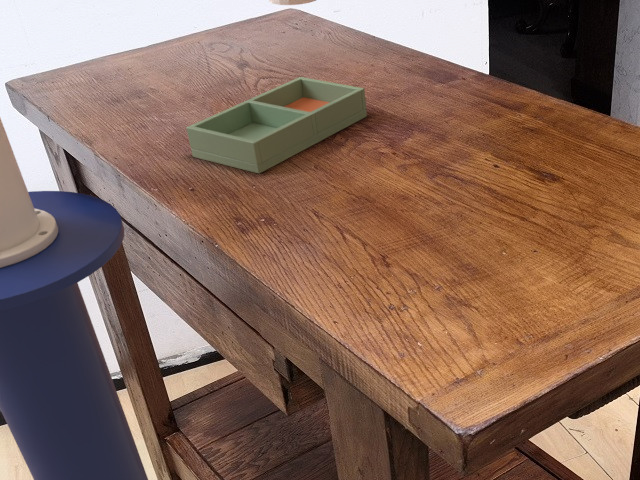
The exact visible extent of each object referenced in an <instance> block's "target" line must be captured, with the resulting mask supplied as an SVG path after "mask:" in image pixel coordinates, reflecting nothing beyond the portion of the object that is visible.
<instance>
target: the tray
mask: <svg viewBox="0 0 640 480" xmlns="http://www.w3.org/2000/svg"><path fill="white" fill-rule="evenodd" d="M367 116H368V112H367V101H366V90H365V88H364V87H358V86H354V85H348V84H342V83H337V82H332V81H325V80H320V79H314V78H309V77H303V76H299V77H296V78H294V79H292V80H290V81H288V82H285V83H283V84H280V85H278V86H277V87H274V88H272V89H270V90H267V91H265V92H263V93H261V94H257V95H256V96H253V97H251V98H249V99H246V100H244V101H242V102H240V103H238V104H236V105H234V106H231V107H229V108H227V109H224V110H222V111H220V112H218V113H215V114H213V115H211V116H208V117H207V118H204V119H201V120H199V121H198V122H196V123H193V124H191V125H189V126H186V127H185V129H186V134H187V138H188V141H189V146H190V149H191V154H192V157H193V158H196V159H200V160H204V161H208V162H211V163H215V164H220V165H223V166H227V167H231V168H235V169H238V170H243V171H247V172H251V173H255V174H261V173H264V172H265V171H267V170H269V169H271V168H273V167H275V166H277V165H279V164H280V163H282V162H285V160H288V159H290V158H292V157H293V156H295V155H297V154H299V153H301V152H303V151H305V150H306V149H308V148H310V147H312V146H314V145H316V144H318V143H320V142H322V141H324V140H326V139H328V138H329V137H331V136H333V135H334V134H337V133H338V132H340V131H342V130H344V129H346V128H348V127H349V126H351V125H354V124H355V123H358V122H359V121H361V120H363V119H365V118H366V117H367Z"/></svg>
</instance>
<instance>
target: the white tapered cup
mask: <svg viewBox="0 0 640 480" xmlns="http://www.w3.org/2000/svg"><path fill="white" fill-rule="evenodd" d="M316 1H317V0H268V2H269V3H271V4H273V5H278V6H296V5H298V6H299V5H303V4H304V5H305V4H310V3H313V2H316Z"/></svg>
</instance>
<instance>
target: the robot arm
mask: <svg viewBox="0 0 640 480" xmlns="http://www.w3.org/2000/svg"><path fill="white" fill-rule="evenodd" d="M28 192H29V190H28V188H27V185H26V182H25V180H24V177H23V175H22V171H21V169H20V166H19V164H18V161H17V159H16V155H15V153H14V150H13V148H12V145H11V142H10V140H9V137H8V134H7V132H6V129H5V126H4V123H3V121H2V118H1V117H0V268H3V267H6V266H9V265H13V264H16V263H18V262H21V261H24V260H26V259H28V258H30V257H32V256H34V255H36V254H38V253H40V252H41V251H43V250H44V249H46V248H47V247H48V246H49V245H50V244H51V243H52V242H53V241H54V240H55V238H56V237H57V234H58V226H57V223H56V221H55V218H54V217H53V216H52V215H51V214H49V213H47V212H45V211H43V210H39V209H34V206H33V204H32V201H31V198H30V196H29V193H28Z"/></svg>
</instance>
